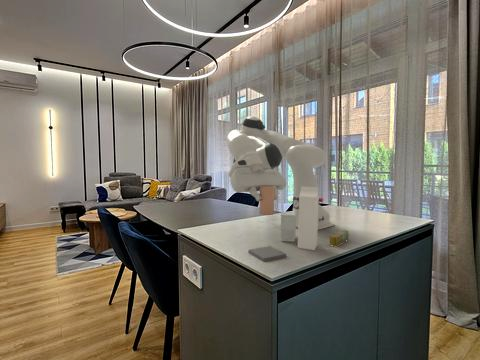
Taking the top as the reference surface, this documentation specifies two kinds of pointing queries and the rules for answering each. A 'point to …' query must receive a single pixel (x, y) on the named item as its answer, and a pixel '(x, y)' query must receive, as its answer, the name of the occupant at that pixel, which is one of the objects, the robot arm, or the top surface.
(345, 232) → the medication box
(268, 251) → the coaster
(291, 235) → the small box
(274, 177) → the robot arm
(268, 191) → the tan round cylinder
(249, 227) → the top surface
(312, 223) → the milk
